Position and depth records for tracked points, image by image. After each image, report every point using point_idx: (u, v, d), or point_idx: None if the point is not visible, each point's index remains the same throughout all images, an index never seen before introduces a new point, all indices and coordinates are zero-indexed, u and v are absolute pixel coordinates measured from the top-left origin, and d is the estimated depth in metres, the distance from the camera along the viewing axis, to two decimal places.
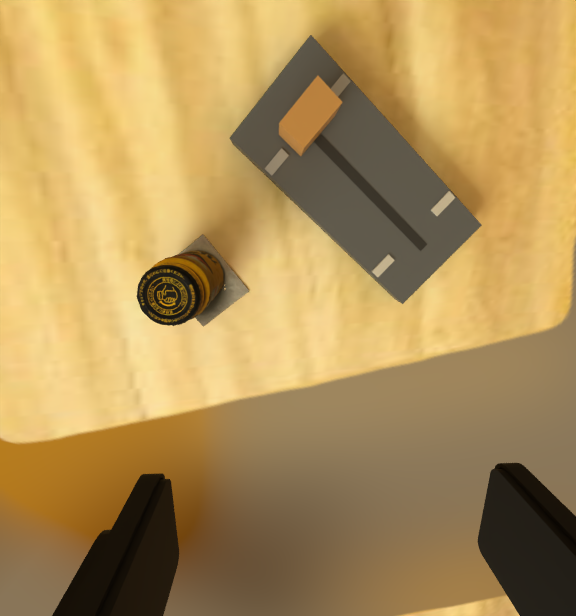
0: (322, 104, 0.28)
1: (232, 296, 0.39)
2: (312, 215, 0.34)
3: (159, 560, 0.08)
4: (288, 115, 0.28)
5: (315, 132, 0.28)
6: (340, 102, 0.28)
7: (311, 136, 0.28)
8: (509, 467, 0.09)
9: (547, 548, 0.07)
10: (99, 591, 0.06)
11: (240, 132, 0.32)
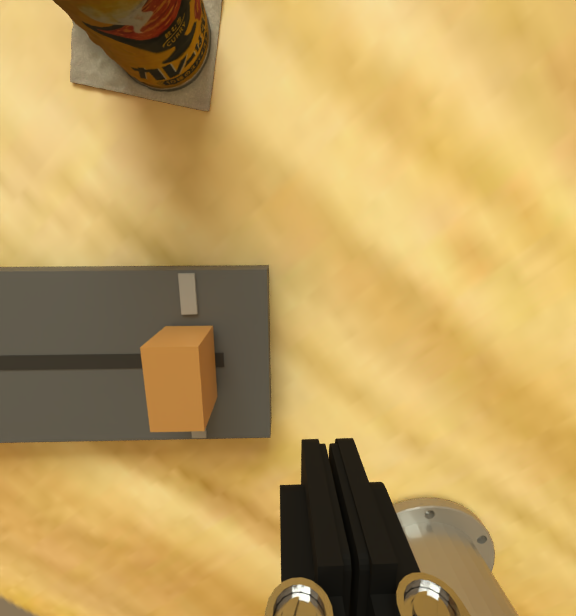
0: (168, 410, 0.17)
1: (83, 46, 0.19)
2: (83, 273, 0.20)
3: None
4: (195, 364, 0.17)
5: (145, 376, 0.17)
6: (152, 429, 0.18)
7: (145, 368, 0.17)
8: (340, 441, 0.10)
9: (341, 507, 0.08)
10: (328, 521, 0.07)
11: (259, 287, 0.20)
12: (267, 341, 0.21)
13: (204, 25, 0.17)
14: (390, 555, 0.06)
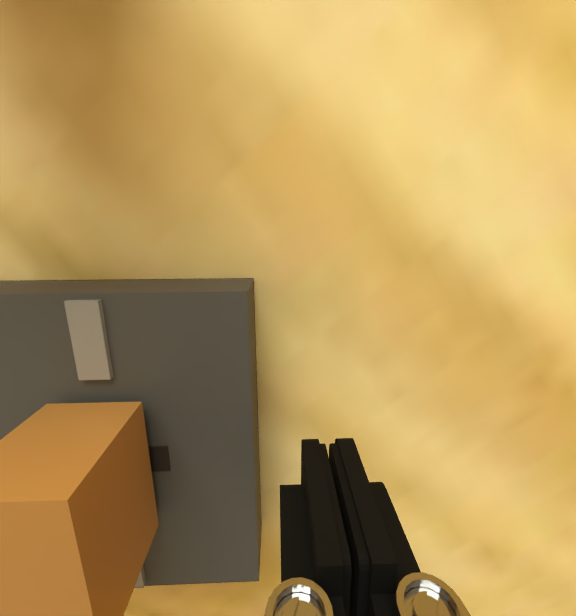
0: None
1: None
2: None
3: None
4: (65, 538, 0.07)
5: None
6: None
7: None
8: (339, 441, 0.10)
9: (341, 507, 0.08)
10: (328, 521, 0.07)
11: (234, 326, 0.10)
12: (250, 425, 0.11)
13: None
14: (390, 555, 0.06)
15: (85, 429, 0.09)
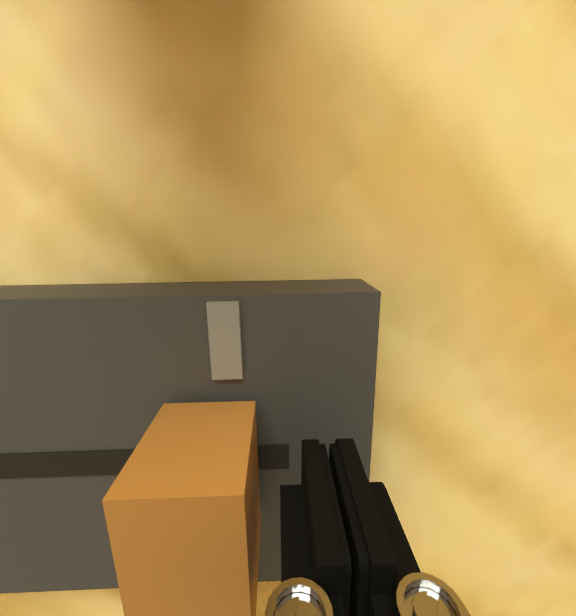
0: None
1: None
2: (16, 303, 0.10)
3: None
4: (236, 532, 0.07)
5: (118, 559, 0.07)
6: None
7: (116, 543, 0.07)
8: (340, 441, 0.10)
9: (341, 507, 0.08)
10: (328, 521, 0.07)
11: (364, 326, 0.10)
12: (370, 422, 0.11)
13: None
14: (390, 555, 0.06)
15: (217, 428, 0.09)
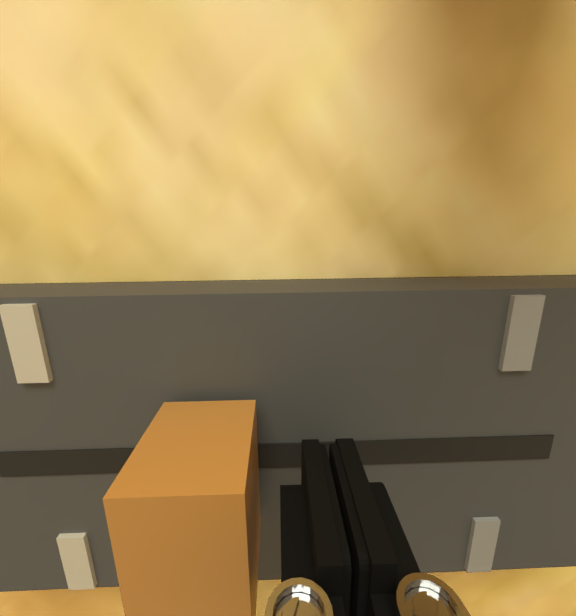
0: None
1: None
2: (330, 296, 0.10)
3: None
4: (236, 531, 0.07)
5: (118, 557, 0.07)
6: None
7: (117, 541, 0.07)
8: (340, 441, 0.10)
9: (341, 507, 0.08)
10: (328, 521, 0.07)
11: None
12: None
13: None
14: (390, 555, 0.06)
15: (218, 426, 0.09)
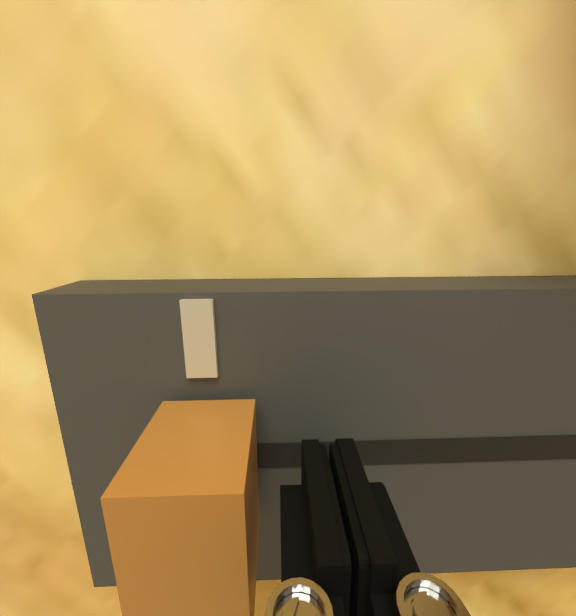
0: None
1: None
2: (499, 293, 0.10)
3: None
4: (235, 531, 0.07)
5: (116, 557, 0.07)
6: None
7: (115, 541, 0.07)
8: (339, 441, 0.10)
9: (341, 507, 0.08)
10: (328, 521, 0.07)
11: None
12: None
13: None
14: (390, 555, 0.06)
15: (217, 426, 0.09)
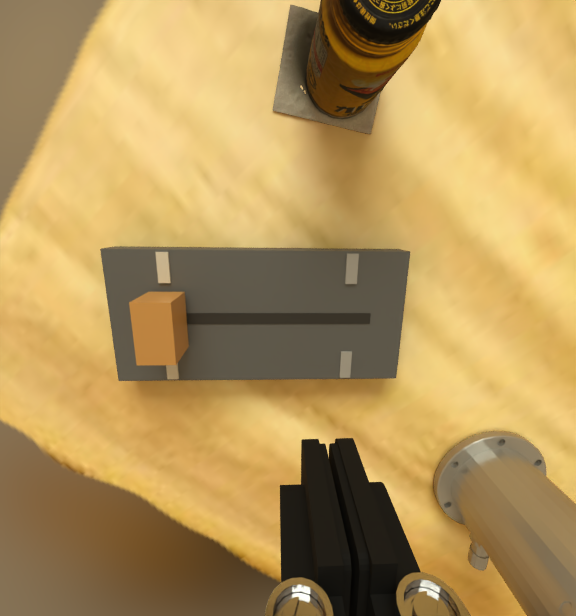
0: (150, 349, 0.24)
1: (286, 84, 0.26)
2: (278, 252, 0.27)
3: None
4: (168, 315, 0.24)
5: (133, 323, 0.24)
6: (138, 363, 0.25)
7: (132, 317, 0.24)
8: (339, 441, 0.10)
9: (341, 507, 0.08)
10: (328, 521, 0.07)
11: (403, 264, 0.28)
12: (403, 305, 0.29)
13: None
14: (390, 555, 0.06)
15: (167, 295, 0.26)
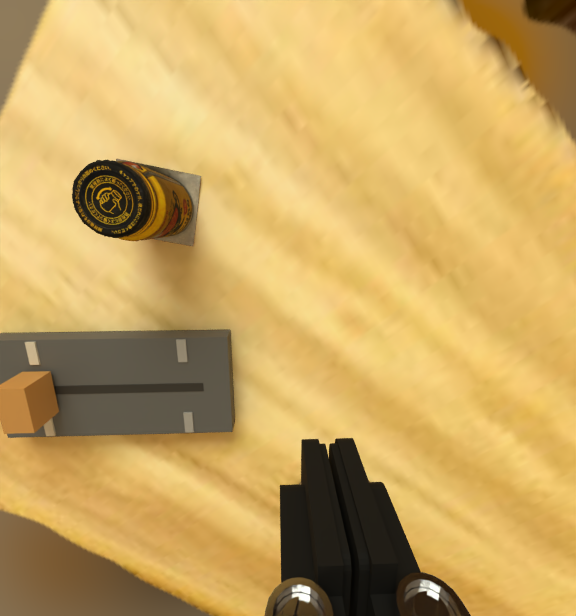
0: (12, 421, 0.32)
1: None
2: (122, 339, 0.35)
3: None
4: (23, 397, 0.31)
5: None
6: (5, 432, 0.32)
7: None
8: (340, 441, 0.10)
9: (341, 507, 0.08)
10: (328, 521, 0.07)
11: (223, 346, 0.35)
12: (228, 376, 0.36)
13: (189, 210, 0.32)
14: (390, 555, 0.06)
15: (31, 377, 0.33)
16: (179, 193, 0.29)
